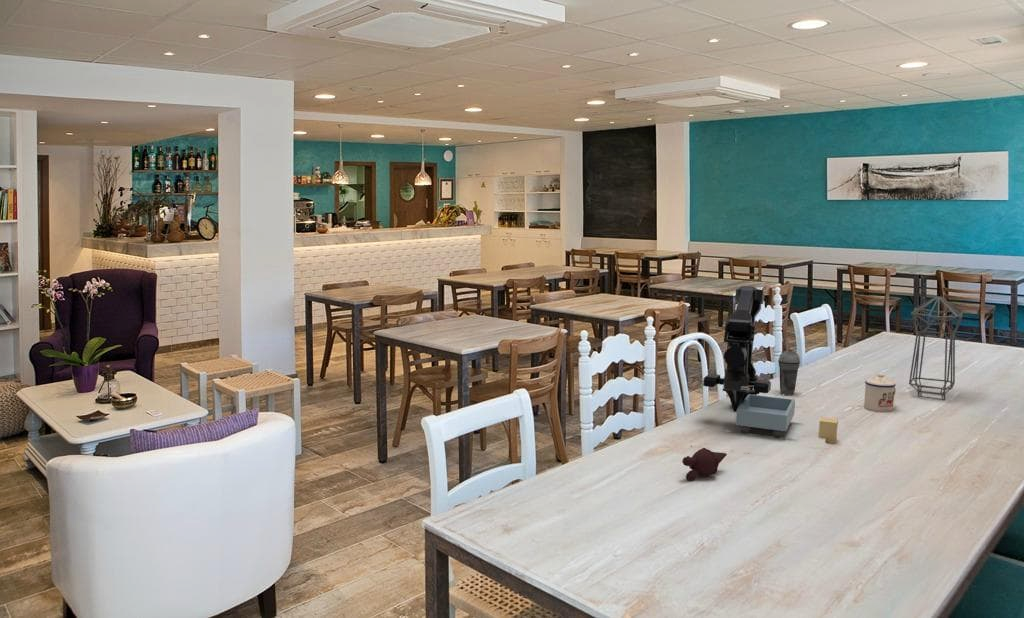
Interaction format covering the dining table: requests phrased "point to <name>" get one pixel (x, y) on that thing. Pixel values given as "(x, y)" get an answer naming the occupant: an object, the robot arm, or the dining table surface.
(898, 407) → the dining table surface
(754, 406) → the box
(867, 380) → the teacup with lid
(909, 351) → the dining table surface
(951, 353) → the geometric lantern
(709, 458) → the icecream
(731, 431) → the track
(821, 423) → the ochre block
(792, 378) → the beverage cup
